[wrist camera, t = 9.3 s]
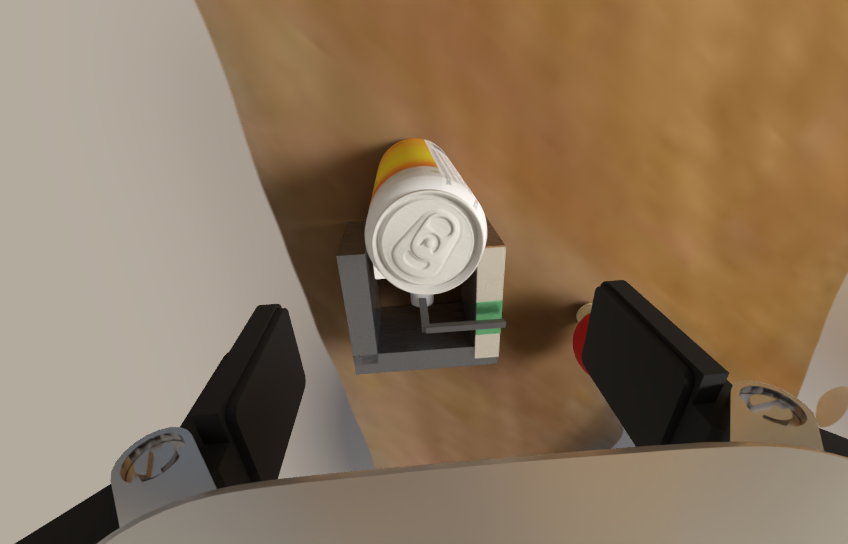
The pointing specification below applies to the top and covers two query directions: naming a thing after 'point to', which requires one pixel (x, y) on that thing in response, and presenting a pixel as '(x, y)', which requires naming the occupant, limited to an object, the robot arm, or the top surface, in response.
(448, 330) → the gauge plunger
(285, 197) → the top surface
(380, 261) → the beer can
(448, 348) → the gauge frame
